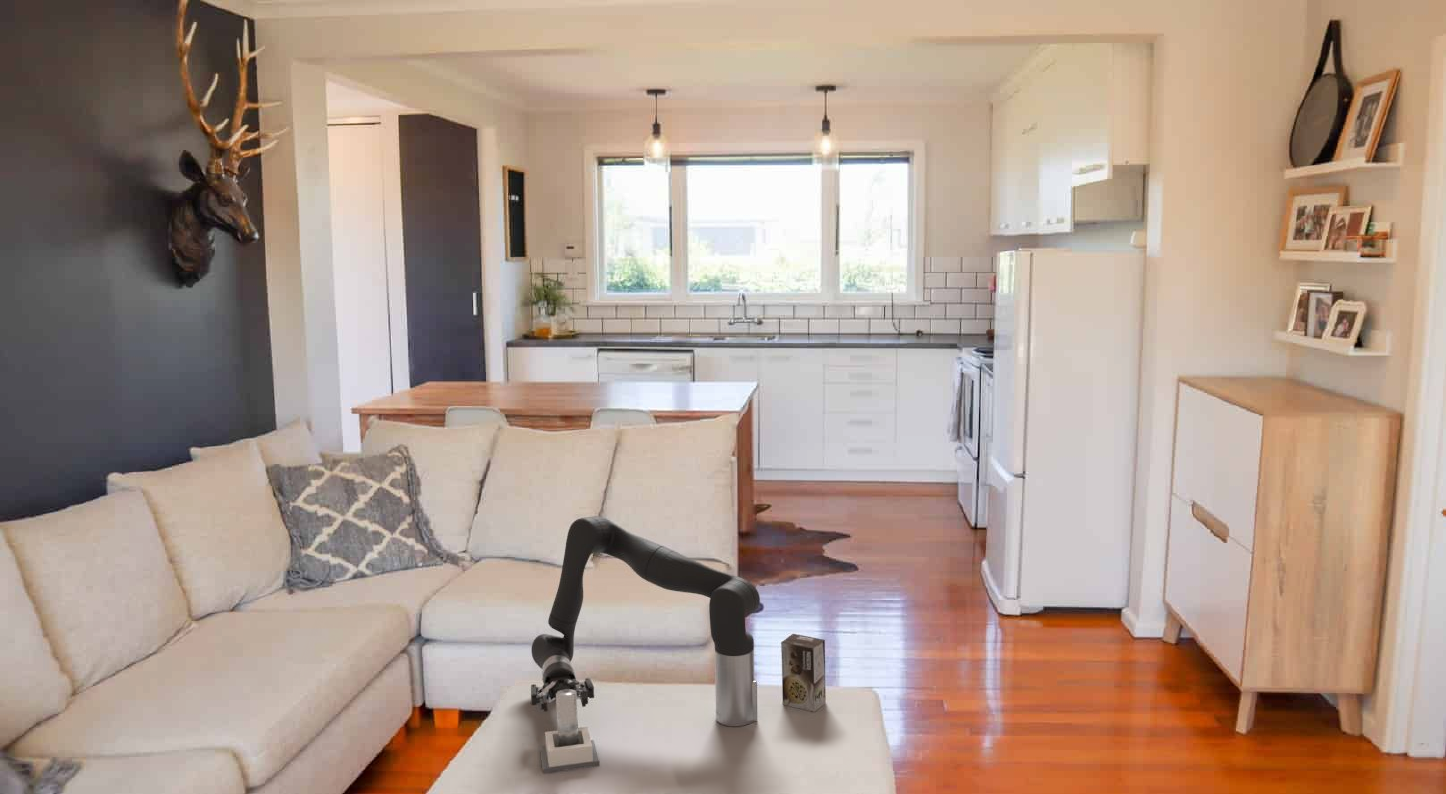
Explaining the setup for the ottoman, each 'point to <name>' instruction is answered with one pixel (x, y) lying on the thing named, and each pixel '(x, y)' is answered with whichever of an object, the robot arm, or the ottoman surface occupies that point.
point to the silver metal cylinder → (567, 717)
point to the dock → (568, 752)
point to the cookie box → (803, 672)
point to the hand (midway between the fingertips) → (564, 704)
